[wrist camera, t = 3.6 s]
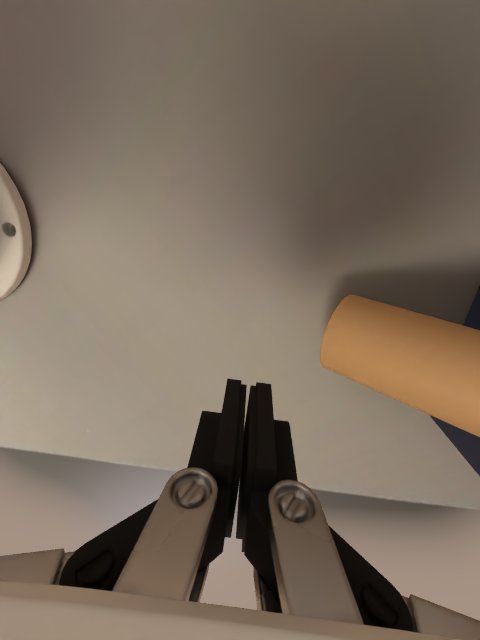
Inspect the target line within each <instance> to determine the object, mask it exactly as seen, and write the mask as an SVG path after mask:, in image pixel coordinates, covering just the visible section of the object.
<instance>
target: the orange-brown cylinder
mask: <svg viewBox="0 0 480 640" xmlns="http://www.w3.org/2000/svg"><path fill="white" fill-rule="evenodd" d="M320 361H321V364H322V366H323V367H325V368H327V369H329V370H331V371H333V372H336V373H338V374H340V375H342V376H345V377H347V378H349V379H351V380H354V381H356V382H358V383H360V384H362V385H365V386H367V387H369V388H371V389H374V390H376V391H378V392H380V393H382V394H385V395H387V396H389V397H391V398H394V399H396V400H398V401H400V402H402V403H405V404H407V405H409V406H411V407H414V408H416V409H418V410H420V411H422V412H425V413H427V414H429V415H431V416H434V417H436V418H438V419H440V420H442V421H445V422H447V423H449V424H451V425H454V426H456V427H458V428H460V429H462V430H465V431H467V432H469V433H471V434H474V435H476V436H478V437H480V330H477V329H474V328H470V327H466V326H463V325H459V324H456V323H452V322H449V321H445V320H442V319H438V318H435V317H431V316H428V315H424V314H420V313H417V312H413V311H410V310H406V309H403V308H399V307H396V306H392V305H389V304H385V303H381V302H378V301H374V300H371V299H367V298H364V297H360V296H357V295H353V294H350V295H348V296H346V297H345V298H344V299H343V300H342V301H341V302H340V303H339V305H338V306H337V308H336V309H335V311H334V313H333V314H332V316H331V318H330V320H329V323H328V325H327V328H326V330H325V333H324V336H323V340H322V345H321V351H320Z"/></svg>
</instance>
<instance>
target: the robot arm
mask: <svg viewBox="0 0 480 640" xmlns="http://www.w3.org/2000/svg"><path fill="white" fill-rule="evenodd" d="M31 249H32V238H31V227H30V222H29V219H28V215H27V211H26V208H25V205H24V203H23V200H22V198H21V196H20V194H19V192H18V189H17V187H16V185H15V184H14V182H13V181H12V179H11V178H10V176H9V174H8V173H7V171H6V170H5V168H4V167H3V166H2V164H1V163H0V300H2V299H4V298H5V297H7V296H9V295H10V294H11V293H12V292H13V291H14V290H15V289H16V288H17V287H18V286H19V284H20V283H21V281H22V279H23V278H24V276H25V275H26V272H27V269H28V266H29V263H30V259H31ZM245 402H246V385H243V384H241V380H234V379H227V385H226V391H225V397H224V403H223V409H222V413H216V412H208V411H202V414H201V418H200V422H199V426H198V429H197V433H196V437H195V441H194V445H193V448H192V452H191V456H190V460H189V464H188V467H187V468H185V469H182V470H180V471H178V472H176V473H175V474H174V475H172V477H171V478H170V479H169V480H168V482H167V484H166V485H165V487H164V489H163V492H162V494H161V495H160V497H159V499H158V500H156V501H154V502H153V503H151V504H149V505H148V506H146V507H144V508H143V509H141V510H140V511H138V512H136V513H135V514H133V515H132V516H130V517H128V518H127V519H125V520H123V521H121V522H120V523H118V524H117V525H115V526H114V527H112V528H110V529H108V530H107V531H105V532H103V533H102V534H100V535H98V536H97V537H95V538H94V539H92V540H90V541H89V542H87V543H85V544H84V545H83V546H81V547H80V548H79V549H77V550H76V551H75V552H67V553H64V549H55V550H47V551H39V552H30V553H21V554H13V555H5V556H0V640H480V621H479V620H476V619H473V618H471V617H468V616H466V615H463V614H460V613H458V612H455V611H453V610H450V609H447V608H445V607H442V606H440V605H437V604H435V603H432V602H430V601H427V600H424V599H422V598H419V597H417V596H414V595H410V597H409V598H407V597H404V596H401V594H400V593H399V592H398V591H397V590H396V588H395V587H393V585H392V584H391V583H390V582H389V581H388V580H387V579H386V578H384V577H383V576H382V575H381V574H380V573H379V572H378V571H377V570H376V569H375V568H374V567H373V566H371V565H370V564H369V563H368V562H367V561H366V560H365V559H364V558H363V557H362V556H361V555H360V554H359V553H358V552H356V551H355V550H354V549H353V548H352V547H351V546H350V545H349V544H348V543H347V542H346V541H345V540H344V539H343V538H341V537H340V536H339V535H338V534H337V533H336V532H335V531H334V530H333V529H332V528H331V527H330V526H328V523H327V521H326V518H325V515H324V512H323V510H322V507H321V504H320V502H319V500H318V498H317V496H316V494H315V493H314V492H313V491H312V490H311V489H310V488H309V487H307V486H306V485H305V484H303V483H300V482H298V481H297V474H296V467H295V460H294V453H293V446H292V439H291V432H290V425H289V422H287V421H279V420H274V418H273V405H272V391H271V384H265V383H256V386H251V387H250V394H249V401H248V407H247V414H246V421H245V428H244V419H245ZM239 480H240V485H239ZM238 486H239V500H238V516H237V532H236V538H237V539H242V552H245V554H244V555H245V556H246V557H247V559H248V560H249V561H250V563H251V564H252V565H253V567H254V584H255V592H256V601H257V609H258V610H251V609H244V608H237V607H229V606H222V605H214V604H206V603H200V599H201V595H202V591H203V587H204V584H205V580H206V577H207V573H208V568H209V563H210V562H212V561H213V560H214V559H215V558H216V557H217V556H219V555H220V554H221V553H222V552H223V545H224V538H225V537H229V538H230V537H231V533H232V525H233V519H234V513H235V506H236V500H237V493H238Z"/></svg>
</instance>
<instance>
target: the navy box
mask: <svg viewBox="0 0 480 640" xmlns="http://www.w3.org/2000/svg"><path fill="white" fill-rule="evenodd" d="M463 326H466V327H470V328H474V329H477V330H480V287H479V290H478V292H477V294H476V297H475V299H474V301H473V304H472V306H471V309H470V311H469V313H468V316H467V318H466V320H465V323H464V325H463ZM430 416H431V415H430ZM431 418H432V419H433V420H434V421H435V422H436V424H437V425H438V426H439V427H440V429H441V430H442V431H443V432H444V433H445V435H446V436H447V437H448V438H449V439H450V441H451V442H452V443H453V444H454V446H455V447H456V448H457V449H458V450H459V452H460V453H461V454H462V455H463V456H464V458H465V459H466V460H467V461H468V463H469V464H470V465H471V466H472V467H473V469H474V470H475V471H476V472H477V473H478V475H479V476H480V437H478V436H476V435H474V434H471V433H469V432H467V431H465V430H462V429H460V428H458V427H456V426H454V425H451V424H449V423H447V422H445V421H442V420H440V419H438V418H436V417H434V416H431Z"/></svg>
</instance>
